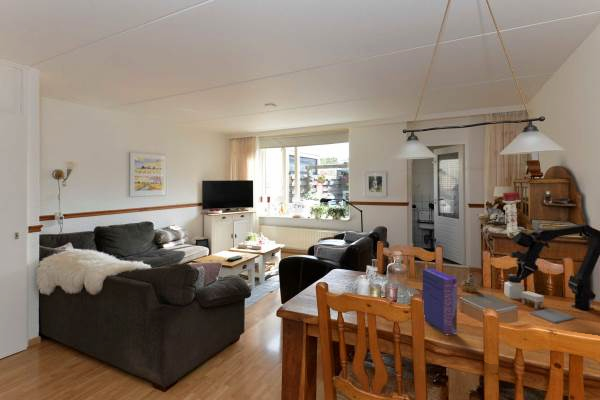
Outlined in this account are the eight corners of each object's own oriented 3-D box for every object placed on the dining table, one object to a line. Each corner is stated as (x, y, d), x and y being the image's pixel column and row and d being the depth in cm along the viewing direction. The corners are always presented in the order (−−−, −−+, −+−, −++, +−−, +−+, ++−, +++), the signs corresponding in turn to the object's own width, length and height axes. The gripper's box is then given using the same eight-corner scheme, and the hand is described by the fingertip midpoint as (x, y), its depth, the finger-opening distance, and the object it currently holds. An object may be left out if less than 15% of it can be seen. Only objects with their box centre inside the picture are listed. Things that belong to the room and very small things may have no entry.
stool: (527, 302, 167) (528, 290, 167) (543, 307, 160) (544, 296, 159) (520, 303, 166) (521, 292, 165) (536, 309, 158) (537, 297, 158)
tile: (549, 309, 157) (549, 308, 157) (574, 318, 147) (574, 317, 147) (529, 313, 153) (529, 312, 153) (554, 323, 143) (554, 321, 143)
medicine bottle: (524, 299, 171) (524, 277, 170) (509, 298, 172) (510, 277, 171) (518, 294, 178) (518, 273, 177) (504, 294, 179) (504, 273, 178)
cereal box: (456, 334, 134) (457, 278, 133) (446, 335, 133) (447, 279, 132) (431, 317, 151) (431, 267, 150) (422, 318, 150) (422, 268, 149)
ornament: (460, 291, 186) (460, 274, 185) (463, 288, 190) (463, 271, 190) (475, 294, 180) (475, 276, 180) (477, 291, 185) (478, 274, 184)
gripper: (512, 242, 173) (499, 268, 175) (520, 245, 156) (505, 273, 158) (535, 252, 168) (521, 278, 170) (545, 256, 151) (529, 284, 153)
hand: (518, 278), depth 163 cm, fingers open, 9 cm apart
